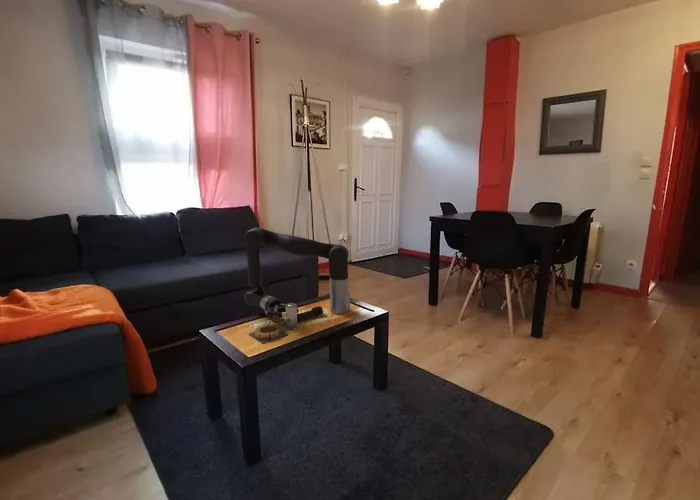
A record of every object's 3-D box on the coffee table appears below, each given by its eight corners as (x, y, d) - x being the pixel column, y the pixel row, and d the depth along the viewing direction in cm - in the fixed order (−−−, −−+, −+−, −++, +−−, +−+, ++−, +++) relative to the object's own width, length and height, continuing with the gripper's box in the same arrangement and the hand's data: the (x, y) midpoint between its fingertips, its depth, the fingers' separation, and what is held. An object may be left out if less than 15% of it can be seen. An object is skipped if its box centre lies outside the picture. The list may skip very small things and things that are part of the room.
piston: (293, 324, 166) (292, 302, 164) (299, 327, 163) (299, 304, 161) (284, 327, 163) (283, 304, 161) (290, 330, 159) (289, 307, 157)
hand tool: (292, 325, 165) (291, 315, 164) (287, 322, 168) (287, 313, 167) (326, 315, 177) (326, 306, 176) (321, 313, 180) (321, 304, 179)
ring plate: (273, 327, 163) (273, 321, 163) (288, 335, 154) (287, 329, 154) (248, 334, 155) (248, 329, 155) (262, 343, 146) (262, 338, 146)
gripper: (257, 300, 169) (275, 309, 157) (283, 294, 179) (302, 302, 167) (258, 316, 171) (276, 325, 159) (284, 308, 180) (303, 317, 168)
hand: (289, 313), depth 163 cm, fingers open, 8 cm apart
